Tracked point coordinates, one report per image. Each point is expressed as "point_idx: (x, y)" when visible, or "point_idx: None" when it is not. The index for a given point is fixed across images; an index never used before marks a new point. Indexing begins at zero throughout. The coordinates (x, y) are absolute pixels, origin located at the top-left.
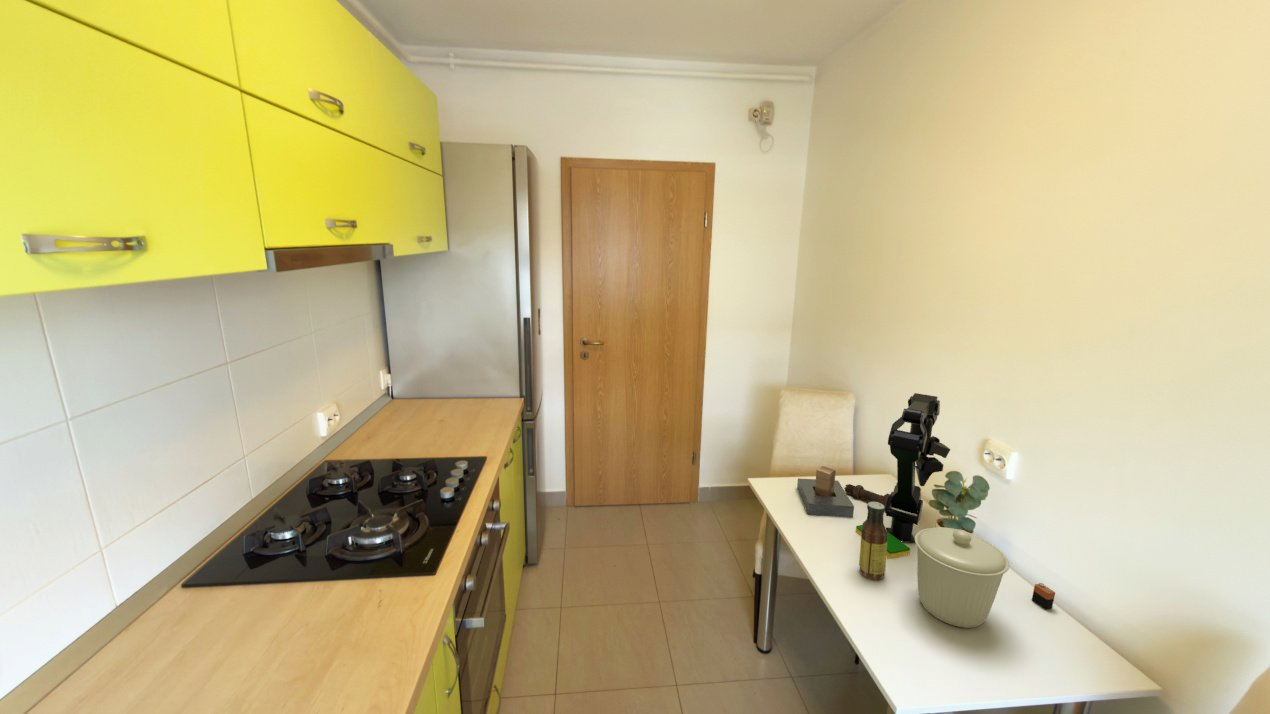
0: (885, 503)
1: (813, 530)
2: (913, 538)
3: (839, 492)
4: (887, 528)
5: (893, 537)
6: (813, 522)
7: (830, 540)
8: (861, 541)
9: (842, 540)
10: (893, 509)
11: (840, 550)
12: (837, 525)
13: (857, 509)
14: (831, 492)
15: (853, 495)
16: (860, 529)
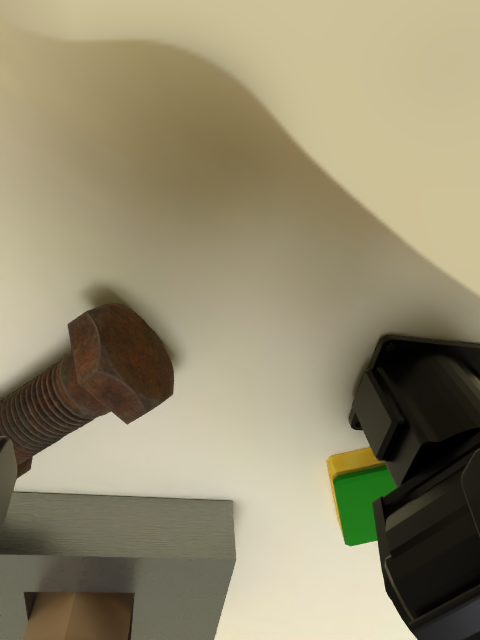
0: (170, 394)
1: (309, 611)
2: (469, 354)
3: (81, 576)
4: (355, 421)
5: None
6: (259, 605)
7: (374, 588)
8: None
9: None
10: (402, 504)
11: None
12: (287, 556)
13: (152, 464)
14: (96, 608)
15: None
16: (375, 540)
